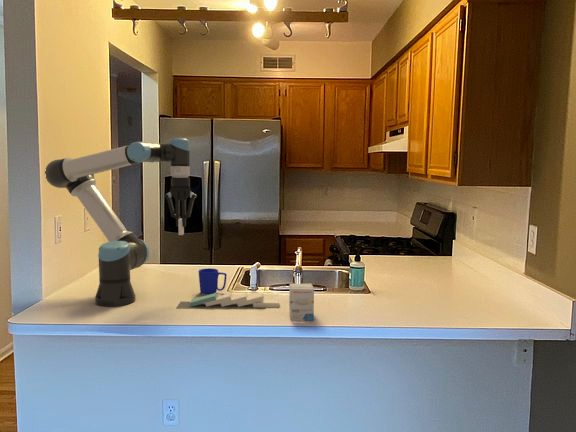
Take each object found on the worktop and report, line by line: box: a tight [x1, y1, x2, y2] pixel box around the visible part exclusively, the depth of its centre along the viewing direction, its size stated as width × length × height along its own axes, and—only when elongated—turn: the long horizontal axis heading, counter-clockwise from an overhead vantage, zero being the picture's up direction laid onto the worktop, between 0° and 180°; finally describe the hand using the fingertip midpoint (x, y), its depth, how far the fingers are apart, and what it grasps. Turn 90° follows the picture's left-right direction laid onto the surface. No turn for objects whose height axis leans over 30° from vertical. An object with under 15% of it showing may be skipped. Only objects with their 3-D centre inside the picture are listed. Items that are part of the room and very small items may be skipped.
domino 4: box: [253, 299, 280, 308], centre depth 201 cm, size 2×5×10 cm
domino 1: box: [205, 292, 233, 307], centre depth 200 cm, size 2×5×10 cm
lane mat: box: [175, 300, 267, 310], centre depth 200 cm, size 34×10×1 cm, turn 91°
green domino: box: [189, 292, 219, 307], centre depth 200 cm, size 2×5×10 cm
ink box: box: [288, 283, 315, 322], centre depth 187 cm, size 8×8×12 cm
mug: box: [198, 267, 228, 295], centre depth 219 cm, size 8×12×10 cm
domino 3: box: [237, 292, 265, 307], centre depth 200 cm, size 2×5×10 cm
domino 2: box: [221, 292, 249, 307], centre depth 200 cm, size 2×5×10 cm
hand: (181, 234), depth 212 cm, fingers closed
